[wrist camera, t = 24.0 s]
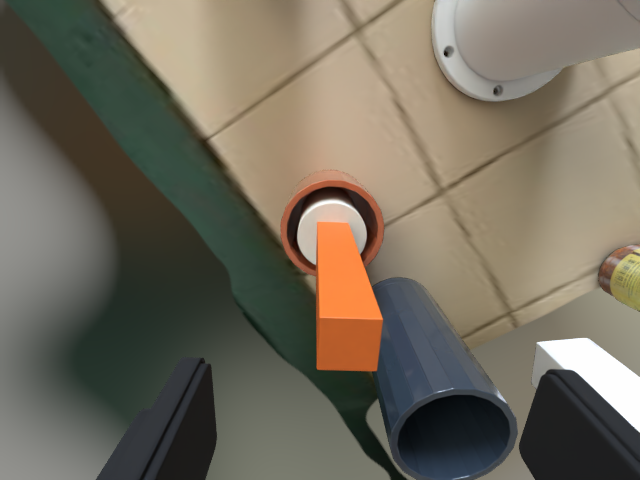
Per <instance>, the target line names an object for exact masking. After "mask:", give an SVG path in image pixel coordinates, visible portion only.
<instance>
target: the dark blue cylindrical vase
mask: <svg viewBox="0 0 640 480" xmlns="http://www.w3.org/2000/svg"><path fill="white" fill-rule="evenodd" d="M372 290H373V293H374V295H375V298H376V301H377V304H378V307H379V309H380V312H381V315H382V318H383V325H382V333H381V342H380V350H379V359H378V367H377V371H372V374H373V378H374V382H375V386H376V391H377V395H378V399H379V403H380V408H381V412H382V416H383V420H384V425H385V429H386V433H387V437H388V442H389V446H390V449H391V453H392V456H393V459H394V461H395V462H396V463H397V465H398V466H399V467H400V468H401V469H402V471H404V472H405V473H406V474H408V475H410V476H411V477H413V478H415V479H416V480H474V479H477V478H479V477H481V476H484V475H486V474H488V473H489V472H491V471H492V470H493V469H495V468H496V467H497V466H499V465H500V464H501V463H502V462H503V461H504V460H505V459H506V457H507V456H508V455H509V453H510V452H511V451H512V449H513V448H514V444H515V441H516V438H517V434H518V430H517V422H516V417H515V415H514V413H513V412H512V411H511V409H510V407H509V405H508V404H507V402H506V401H505V400H504V398H503V397H502V395H501V394H500V392H499V391H498V390H497V388H496V387H495V386H494V384H493V382H492V381H491V380H490V378H489V377H488V375H487V374H486V373H485V371H484V370H483V368H482V367H481V365H480V364H479V363H478V361H477V360H476V358H475V357H474V355H473V354H472V353H471V351H470V350H469V348H468V347H467V346H466V344H465V343H464V341H463V340H462V338H461V337H460V336H459V334H458V333H457V331H456V330H455V328H454V327H453V326H452V324H451V323H450V321H449V320H448V318H447V317H446V316H445V314H444V313H443V311H442V310H441V309H440V307H439V306H438V304H437V303H436V301H435V300H434V299H433V297H432V296H431V294H430V293H429V292H428V291H427V289H426V288H425V287H424V286H423V285H421V284H420V283H418V282H416V281H414V280H412V279H408V278H390V279H386V280H384V281H381V282H379V283H377V284H376V285H374V286H373V287H372Z"/></svg>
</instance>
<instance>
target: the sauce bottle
mask: <svg viewBox="0 0 640 480" xmlns="http://www.w3.org/2000/svg"><path fill="white" fill-rule="evenodd" d="M598 276H599V280H598V281H599V282H600V286H601V287H602V289H603V290H604V291H605V292H607V293H609V294H610V295H612V296H614V297H615V298H616V299H617V300H618V301H620V302H622V303H624V304H625V305H627V306H629V307H631V308H633V309H635V310H637V311H639V312H640V245H630V246H626V247H623V248H619V249H617V250H615V251H614V252H613V253H612V254H610V255H609V256H608V257H607V259H606V260H605V261H604V262H603V263H602V265H601V268H600V271H599V273H598Z"/></svg>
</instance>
